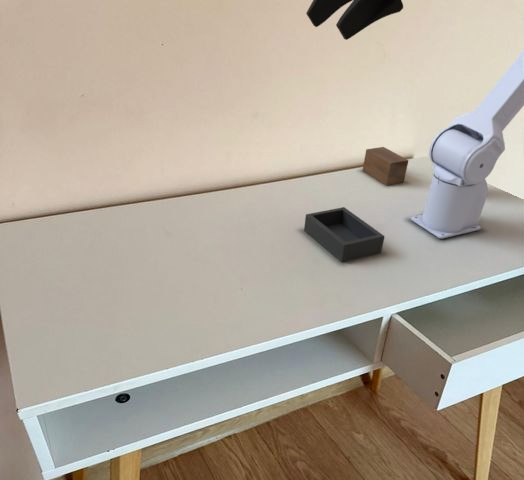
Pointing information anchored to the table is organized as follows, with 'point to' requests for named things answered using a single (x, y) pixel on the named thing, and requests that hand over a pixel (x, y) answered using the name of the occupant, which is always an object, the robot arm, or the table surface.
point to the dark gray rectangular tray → (343, 234)
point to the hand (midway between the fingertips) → (325, 26)
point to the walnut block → (385, 165)
